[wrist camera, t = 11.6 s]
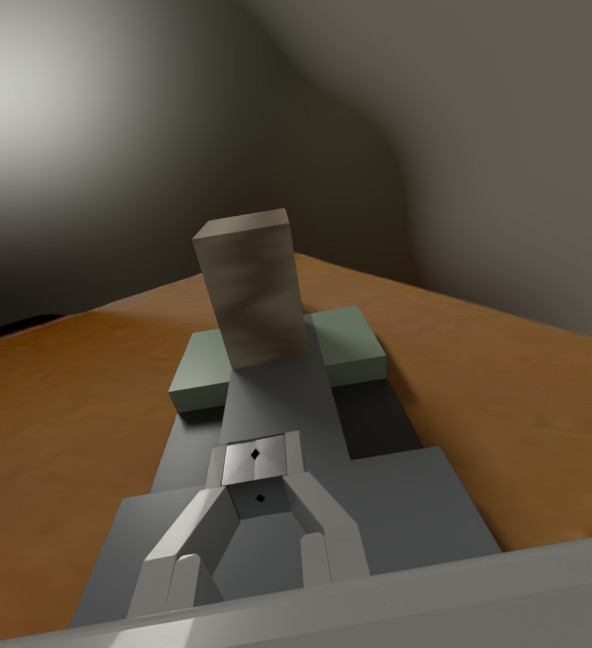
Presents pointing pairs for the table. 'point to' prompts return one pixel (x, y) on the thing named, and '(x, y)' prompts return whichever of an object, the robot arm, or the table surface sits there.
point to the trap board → (321, 460)
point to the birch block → (254, 287)
